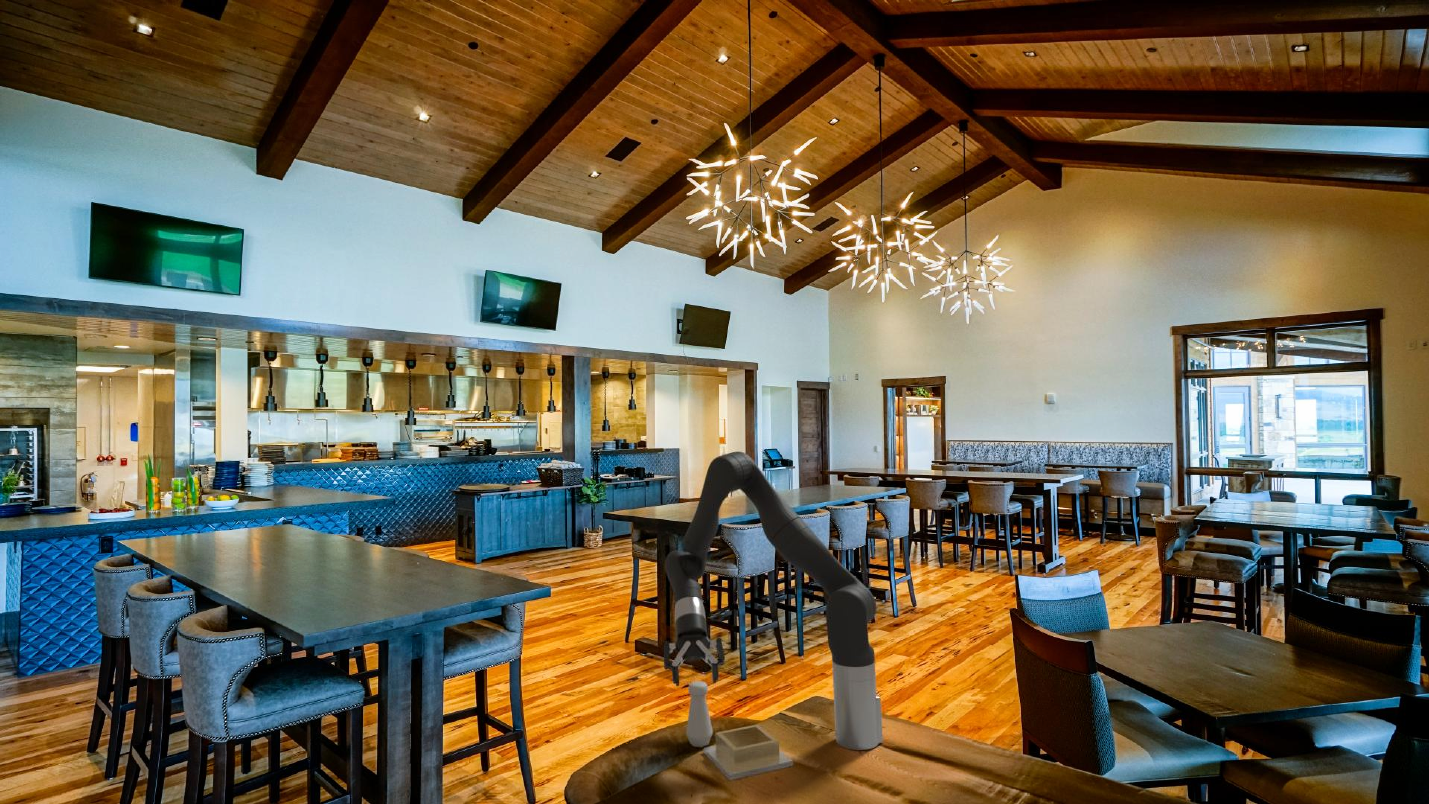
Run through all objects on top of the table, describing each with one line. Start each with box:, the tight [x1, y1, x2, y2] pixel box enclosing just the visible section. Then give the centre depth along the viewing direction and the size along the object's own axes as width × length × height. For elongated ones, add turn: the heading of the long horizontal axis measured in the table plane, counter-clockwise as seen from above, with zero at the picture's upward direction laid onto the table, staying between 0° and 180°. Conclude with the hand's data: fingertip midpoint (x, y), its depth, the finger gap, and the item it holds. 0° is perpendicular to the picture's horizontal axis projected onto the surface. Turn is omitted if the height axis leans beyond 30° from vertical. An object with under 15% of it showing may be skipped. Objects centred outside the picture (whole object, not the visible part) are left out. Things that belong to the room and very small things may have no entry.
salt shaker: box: [685, 680, 714, 748], centre depth 154 cm, size 6×6×13 cm
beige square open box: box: [703, 724, 794, 781], centre depth 145 cm, size 14×14×4 cm
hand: (696, 683), depth 160 cm, fingers open, 8 cm apart
